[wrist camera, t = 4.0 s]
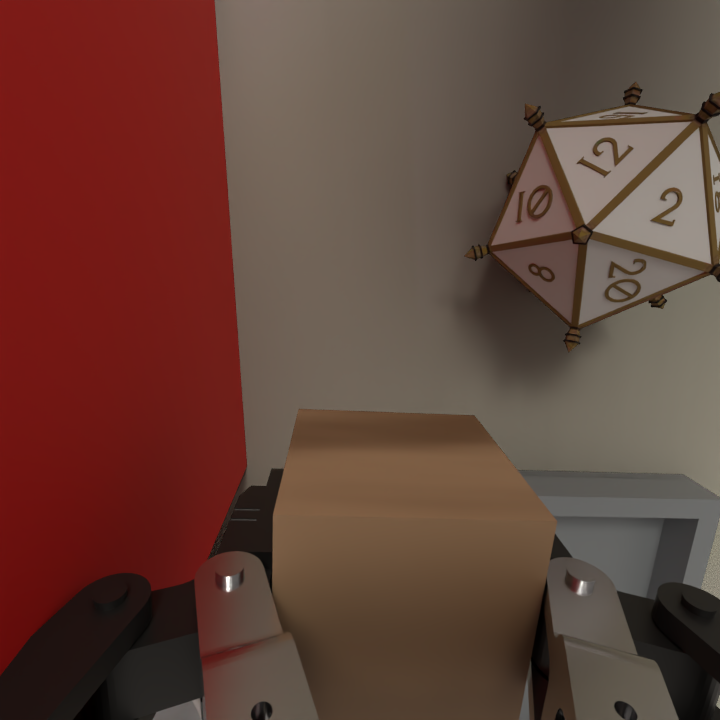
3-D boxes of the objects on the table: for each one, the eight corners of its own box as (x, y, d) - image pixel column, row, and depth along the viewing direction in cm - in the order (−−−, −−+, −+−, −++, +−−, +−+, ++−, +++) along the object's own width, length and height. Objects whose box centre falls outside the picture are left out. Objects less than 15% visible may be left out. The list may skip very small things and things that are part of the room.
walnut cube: (298, 408, 12) (272, 514, 8) (474, 415, 13) (558, 521, 8) (295, 560, 14) (270, 734, 9) (455, 563, 14) (516, 734, 9)
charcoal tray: (457, 468, 22) (472, 494, 20) (683, 474, 23) (724, 500, 21) (426, 745, 27) (435, 794, 24) (619, 742, 27) (647, 789, 25)
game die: (551, 243, 24) (746, 350, 17) (418, 289, 21) (591, 438, 14) (610, 38, 18) (946, 84, 11) (435, 64, 15) (746, 145, 8)
